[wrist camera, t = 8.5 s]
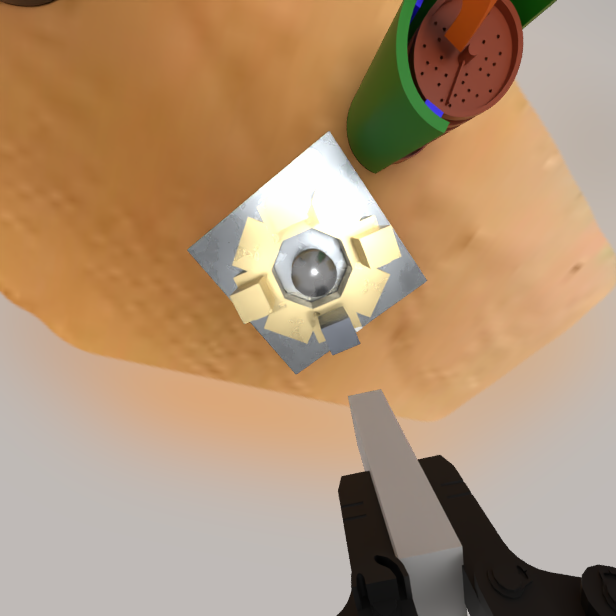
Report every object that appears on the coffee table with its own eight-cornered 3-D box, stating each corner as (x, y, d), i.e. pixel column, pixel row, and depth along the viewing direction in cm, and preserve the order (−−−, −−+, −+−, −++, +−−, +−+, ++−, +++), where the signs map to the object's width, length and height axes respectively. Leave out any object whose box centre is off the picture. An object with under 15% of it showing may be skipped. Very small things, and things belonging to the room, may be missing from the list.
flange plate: (191, 248, 35) (162, 255, 27) (327, 135, 32) (337, 106, 25) (296, 369, 40) (296, 403, 32) (422, 278, 37) (455, 292, 29)
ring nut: (277, 350, 37) (273, 379, 30) (215, 228, 33) (194, 229, 26) (397, 300, 36) (422, 318, 29) (350, 167, 32) (365, 150, 25)
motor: (399, 187, 34) (534, 137, 15) (330, 148, 33) (380, 38, 13) (447, 96, 32) (681, -103, 12) (375, 50, 30) (514, -253, 11)
